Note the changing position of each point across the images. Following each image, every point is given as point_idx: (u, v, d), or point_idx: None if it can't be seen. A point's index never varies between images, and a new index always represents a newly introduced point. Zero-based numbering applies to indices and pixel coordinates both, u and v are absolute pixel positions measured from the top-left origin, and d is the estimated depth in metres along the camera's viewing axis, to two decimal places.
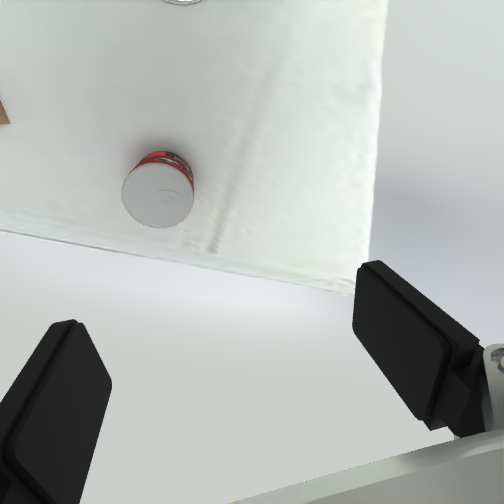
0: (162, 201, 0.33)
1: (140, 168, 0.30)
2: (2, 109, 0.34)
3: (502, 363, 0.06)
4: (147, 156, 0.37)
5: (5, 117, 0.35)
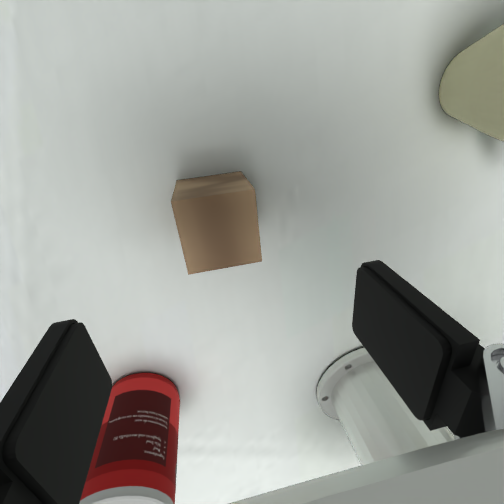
0: None
1: None
2: None
3: (502, 363, 0.06)
4: (172, 405, 0.28)
5: None
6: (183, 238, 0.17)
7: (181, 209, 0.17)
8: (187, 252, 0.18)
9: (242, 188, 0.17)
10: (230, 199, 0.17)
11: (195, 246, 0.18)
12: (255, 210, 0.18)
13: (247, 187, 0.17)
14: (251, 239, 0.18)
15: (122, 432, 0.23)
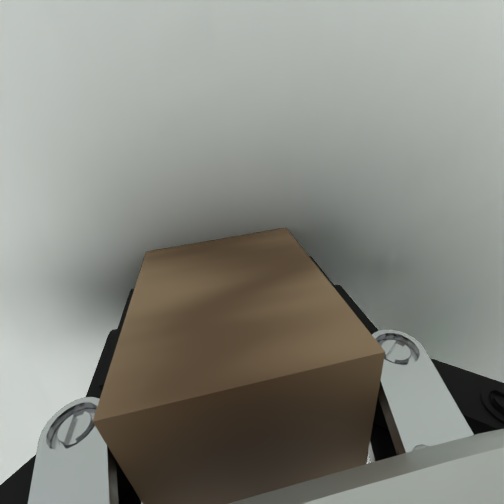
0: None
1: None
2: None
3: None
4: None
5: None
6: (148, 491, 0.06)
7: (135, 434, 0.05)
8: None
9: (334, 335, 0.05)
10: (303, 386, 0.05)
11: (187, 497, 0.06)
12: (372, 400, 0.06)
13: (349, 330, 0.06)
14: (346, 456, 0.06)
15: None
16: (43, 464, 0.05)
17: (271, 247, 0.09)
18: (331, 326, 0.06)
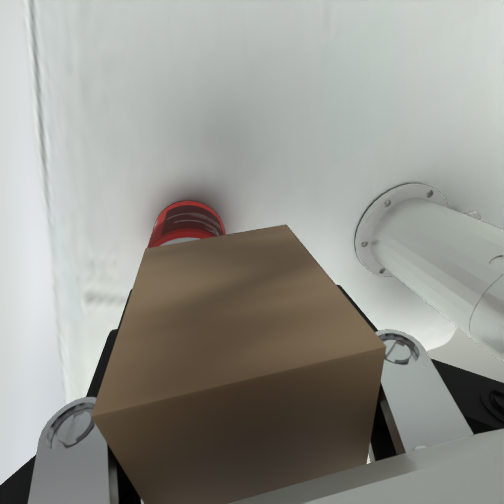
0: None
1: None
2: None
3: None
4: (221, 224, 0.28)
5: None
6: (147, 487, 0.06)
7: (134, 429, 0.05)
8: None
9: (335, 330, 0.05)
10: (303, 381, 0.05)
11: (187, 494, 0.06)
12: (373, 396, 0.06)
13: (349, 325, 0.06)
14: (347, 453, 0.06)
15: (181, 219, 0.24)
16: (43, 464, 0.05)
17: (271, 243, 0.09)
18: (332, 321, 0.06)
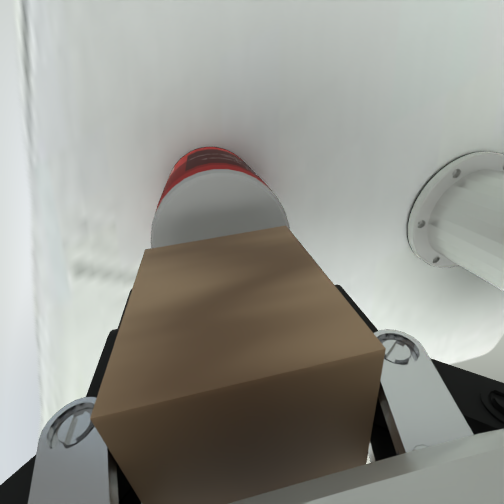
0: None
1: (283, 216, 0.15)
2: None
3: None
4: None
5: None
6: (147, 489, 0.06)
7: (133, 431, 0.05)
8: None
9: (334, 332, 0.05)
10: (302, 383, 0.05)
11: (185, 496, 0.06)
12: (373, 397, 0.06)
13: (349, 327, 0.06)
14: (347, 455, 0.06)
15: (211, 157, 0.17)
16: (43, 464, 0.05)
17: (271, 245, 0.09)
18: (331, 323, 0.06)
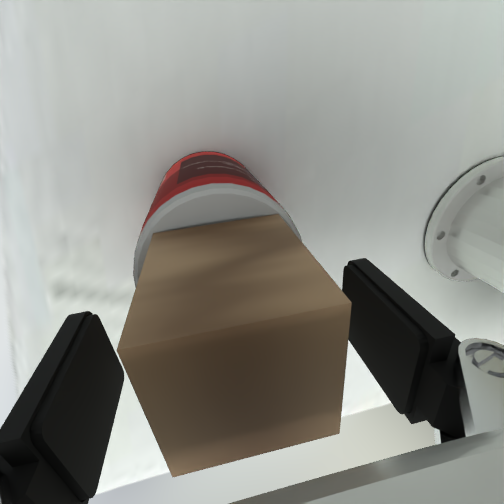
0: None
1: None
2: None
3: (476, 357, 0.06)
4: None
5: None
6: (157, 420, 0.07)
7: (149, 364, 0.06)
8: (169, 443, 0.07)
9: (312, 292, 0.07)
10: (284, 330, 0.06)
11: (189, 429, 0.07)
12: (343, 347, 0.07)
13: (324, 288, 0.07)
14: (324, 400, 0.08)
15: (209, 165, 0.15)
16: None
17: (264, 229, 0.10)
18: (310, 286, 0.07)
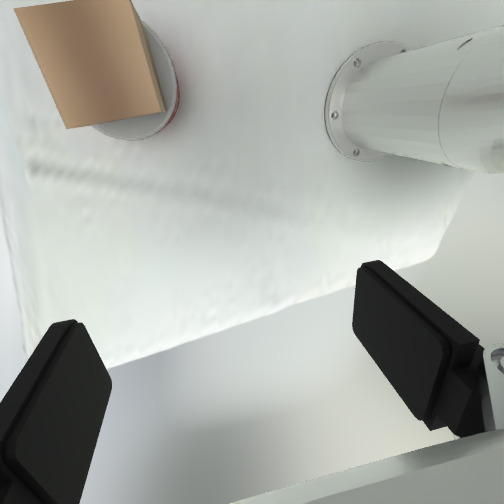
0: None
1: (163, 50, 0.19)
2: None
3: (502, 363, 0.06)
4: None
5: None
6: (46, 71, 0.14)
7: (31, 22, 0.13)
8: (56, 93, 0.14)
9: None
10: (96, 9, 0.13)
11: (65, 84, 0.14)
12: (135, 29, 0.14)
13: None
14: (139, 75, 0.15)
15: None
16: None
17: None
18: None
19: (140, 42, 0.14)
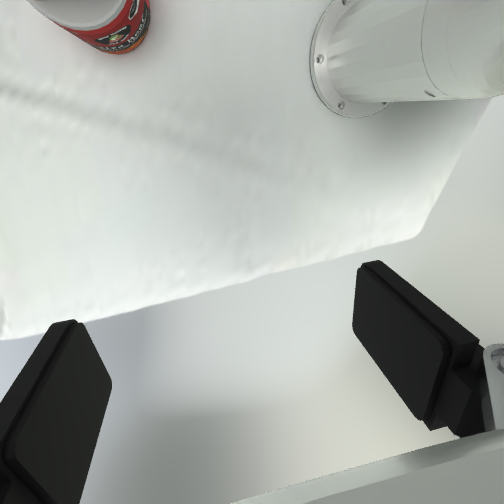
0: None
1: None
2: None
3: (502, 363, 0.06)
4: None
5: None
6: None
7: None
8: None
9: None
10: None
11: None
12: None
13: None
14: None
15: None
16: None
17: None
18: None
19: None
